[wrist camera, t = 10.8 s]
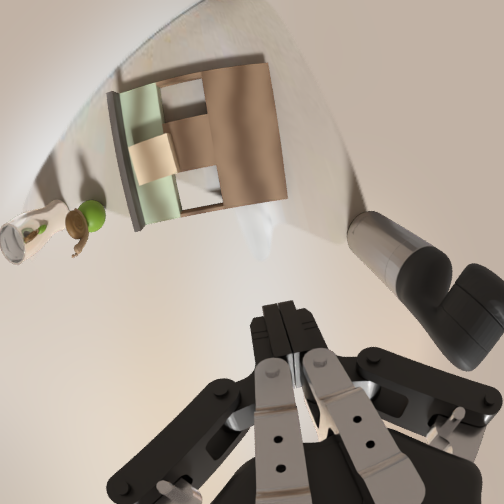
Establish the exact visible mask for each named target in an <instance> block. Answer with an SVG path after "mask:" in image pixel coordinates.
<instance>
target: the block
mask: <svg viewBox="0 0 504 504" xmlns="http://www.w3.org/2000/svg"><path fill="white" fill-rule="evenodd" d="M128 149H129V153H130V156H131V160H132V163H133V166H134V170H135V173H136V176H137V180H138V183H139V186H140V185H143V184H146V183H149V182H152V181H154V180H157V179H160V178H163V177H167V176H170V175H173V174H176V173H178V172H180V171H181V169H180V166H179V162H178V159H177V155H176V151H175V148H174V144H173V141H172V137H171V134H170V133H165V134H162V135H160V136H157V137H154V138H151V139H148V140H146V141H143V142H140V143H138V144H135V145H133V146H130V147H128Z"/></svg>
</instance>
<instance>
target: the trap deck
mask: <svg viewBox="0 0 504 504" xmlns="http://www.w3.org/2000/svg"><path fill="white" fill-rule="evenodd" d="M201 78H202V81H203V87H204V94H205V100H206V106H207V112H208V114H204V115H199V116H194V117H189V118H185V119H181V120H176V121H172V122H168V123H165V119H164V113H163V107H162V100H161V94H160V88H162V87H166V86H170V85H174V84H178V83H182V82H187V81H191V80H196V79H201ZM106 94H107V102H108V109H109V116H110V123H111V129H112V135H113V141H114V146H115V152H116V157H117V162H118V167H119V171H120V176H121V180H122V185H123V189H124V193H125V197H126V201H127V205H128V209H129V213H130V216H131V220H132V224H133V227H134V231H135V232H138V231H141V230H142V229H143V227H144V226H145V225H147V224H152V223H156V222H161V221H165V220H171V219H175V218H180V217H185V216H190V215H196V214H201V213H206V212H211V211H217V210H222V209H228V208H233V207H239V206H245V205H251V204H257V203H263V202H269V201H276V200H282V199H288V196H287V188H286V180H285V172H284V164H283V156H282V149H281V142H280V135H279V128H278V121H277V114H276V108H275V102H274V96H273V89H272V84H271V78H270V72H269V66H268V63H259V64H249V65H240V66H233V67H226V68H219V69H213V70H207V71H202V72H197V73H192V74H187V75H183V76H179V77H174V78H170V79H166V80H163V81H159V82H155V83H152V84H148V85H145V86H142V87H138V88H135V89H132V90H129V91H126V92H123V93H120V94H119V93H116V92H114V91H111V92H108V93H106ZM165 133H170V134H171V137H172V141H173V144H174V148H175V151H176V155H177V159H178V162H179V166H180V169H181V171H180V172H183V171H188V170H193V169H198V168H203V167H208V166H213V165H217V171H218V176H219V182H220V188H221V193H222V199H223V203H218V204H213V205H207V206H202V207H197V208H192V209H187V210H182V206H181V202H180V198H179V193H178V189H177V183H176V179H175V174H173V175H170V176H167V177H163V178H160V179H157V180H154V181H152V182H149V183H146V184H143V185H140V186H139V183H138V180H137V176H136V173H135V170H134V166H133V163H132V160H131V156H130V153H129V149H128V147H130V146H133V145H135V144H138V143H140V142H143V141H146V140H148V139H151V138H154V137H157V136H160V135H162V134H165ZM178 173H179V172H178Z"/></svg>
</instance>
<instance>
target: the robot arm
mask: <svg viewBox="0 0 504 504" xmlns="http://www.w3.org/2000/svg"><path fill="white" fill-rule="evenodd" d="M347 241H348V245H349V248H350V249H351V250H352V252H353V253H354V254H355V255H356V256H357V257H358V258H360V260H361V261H363V263H364V264H366V266H367V267H368V268H369V269H371V271H372V272H373V273H374V274H375V275H376V276H377V277H378V278H379V279H380V280H381V281H382V282H383V283H384V284H385V285H386V286H387V287H388V288H389V289H390V290H391V291H392V292H393V293H394V294H395V295H396V297H397V298H398V299H399V300H400V301H401V302H402V303H403V304H404V305H405V306H406V307H407V309H408V310H409V311H410V312H411V313H412V314H413V315H414V316H415V318H416V319H417V320H418V321H419V322H420V324H421V325H422V326H423V328H424V329H425V330H426V332H427V333H428V334H429V336H430V337H431V339H432V340H433V341H434V343H435V344H436V345H437V347H438V348H439V349H440V351H441V352H442V353H443V355H444V356H445V357H446V358H447V359H448V360H449V361H450V362H451V363H452V364H453V365H454V366H456V367H457V368H459V369H461V370H463V371H472V370H474V369H475V368H476V367H477V366H478V365H479V364H480V363H481V361H483V359H484V358H485V357H486V356H487V354H488V353H489V352H490V351H491V349H492V348H493V347H494V345H495V344H496V343H497V341H498V340H499V339H500V337H501V336H502V334H503V333H504V281H503V280H502V279H501V278H500V277H498V276H497V275H496V274H495V273H493V272H492V271H490V270H489V269H487V268H486V267H484V266H481V265H479V264H475V263H474V264H473V263H472V264H469V265H468V266H467V267H466V268H465V269H464V270H463V272H462V273H461V275H460V276H459V278H458V279H457V280H456V282H455V284H454V285H453V286H452V288H451V289H450V291H449V288H450V284H451V280H452V265H451V262H450V260H449V258H448V257H447V255H446V254H444V253H443V252H442V251H440V250H439V249H437V248H436V247H434V246H433V245H431V244H430V243H428V242H426V241H425V240H423V239H422V238H420V237H418V236H417V235H415V234H413V233H412V232H410V231H409V230H407V229H405V228H404V227H402V226H400V225H399V224H397V223H395V222H393V221H392V220H390V219H388V218H387V217H385V216H383V215H381V214H380V213H378V212H375V211H368V212H364V213H362V214H360V215H359V216H357V217H356V218H355V219H354V220H353V222H352V223H351V225H350V227H349V230H348V234H347ZM448 291H449V292H448ZM262 309H263V315H264V316H262V317H256V318H253V320H252V322H251V324H250V328H251V336H252V343H253V349H254V356H255V362H256V363H255V364H256V365H255V369H254V371H253V372H252V374H250V375H249V376H248V377H247V378H245V379H243V380H240V381H238V382H234V381H233V380H230V379H225V378H224V379H217V380H214V381H212V382H211V383H209V384H208V385H207V386H206V387H205V388H204V389H203V390H202V391H201V392H200V393H199V395H197V397H195V398H194V399H193V401H192V402H191V403H190V404H189V405H188V406H187V407H186V408H185V409H184V410H183V411H182V412H181V413H180V414H179V415H178V416H177V417H176V418H175V419H174V420H173V421H172V422H171V423H169V424H168V425H167V427H165V428H164V429H163V430H162V431H161V432H160V433H159V434H158V435H157V436H156V437H155V438H154V439H153V440H152V441H151V442H150V443H149V444H148V445H146V446H145V447H144V448H143V449H142V450H141V451H140V452H139V453H138V454H137V455H136V456H134V457H133V458H132V459H131V460H130V461H129V462H128V463H127V464H126V465H124V466H123V467H122V468H121V469H120V470H119V471H118V472H116V473H115V474H114V475H113V476H112V477H111V478H110V479H109V481H108V482H107V486H106V489H107V494H108V496H109V498H110V499H111V500H112V501H113V502H114V503H116V504H202V496H201V494H200V492H199V491H198V489H199V488H200V487H201V486H202V485H203V484H204V483H205V482H206V481H207V480H208V478H209V477H210V476H211V475H212V474H213V473H214V472H215V471H216V469H217V468H218V467H219V466H220V465H221V464H222V463H223V461H224V460H225V459H226V458H227V457H228V455H229V454H230V453H231V452H232V451H233V449H234V448H235V447H236V446H237V444H238V443H239V442H240V441H241V440H242V438H243V437H244V436H245V434H246V433H247V432H248V430H249V428H250V427H251V426H253V425H254V429H255V457H254V458H252V459H251V460H249V461H247V462H246V463H245V464H243V465H242V466H241V467H240V468H239V469H238V470H237V471H236V472H235V474H234V475H233V476H232V478H231V479H230V480H229V482H228V483H227V484H226V485H225V487H224V488H223V489H222V490H221V492H220V493H219V494H218V495H217V496H216V498H215V499H214V500H213V501H212V502H211V504H481V492H482V476H481V472H480V470H479V469H478V467H477V466H476V465H475V464H474V460H475V458H476V455H477V453H478V450H479V447H480V444H481V441H482V438H483V435H484V432H485V429H486V426H487V424H488V423H489V422H490V421H491V420H492V419H493V417H494V416H495V415H496V414H497V413H498V411H499V410H500V408H501V406H502V396H501V394H500V392H499V391H498V390H497V389H495V388H493V387H490V386H487V385H484V384H481V383H478V382H474V381H471V380H468V379H465V378H462V377H459V376H456V375H453V374H450V373H447V372H444V371H442V370H439V369H436V368H433V367H430V366H427V365H424V364H422V363H419V362H416V361H413V360H411V359H408V358H405V357H402V356H400V355H397V354H394V353H392V352H389V351H386V350H384V349H381V348H378V347H369V348H366V349H364V350H362V351H361V352H360V353H359V354H358V356H357V357H341V356H337V355H335V353H334V352H333V351H331V350H329V349H328V347H327V345H326V343H325V341H324V339H323V337H322V334H321V332H320V330H319V328H318V326H317V324H316V322H315V319H314V317H313V315H312V313H311V312H309V311H308V310H307V309H305V308H303V309H298V310H296V308H295V305H294V302H293V301H286V302H281V303H278V305H277V303H276V304H271V305H265V306H262ZM294 381H295V383H294ZM295 385H296V388H298V387H302V389H303V392H304V402H305V404H306V406H307V409H308V412H309V414H310V417H311V419H312V422H313V424H314V427H315V429H316V432H317V435H318V441H319V442H316V443H303V442H302V435H301V429H300V423H299V416H298V410H297V406H296V403H295V397H294V391H293V389H294V388H295ZM382 419H383V420H386V421H388V422H391V423H393V424H395V425H397V426H400V427H402V428H404V429H407V430H409V431H412V432H414V433H417V434H420V435H422V436H424V437H426V440H427V443H428V444H426V443H423V442H421V441H419V440H416V439H414V438H412V437H409V436H407V435H405V434H403V433H400V432H398V431H396V430H393V429H390V428H386V426H385V424H384V422H383V421H382Z"/></svg>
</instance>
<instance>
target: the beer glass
mask: <svg viewBox="0 0 504 504" xmlns="http://www.w3.org/2000/svg"><path fill="white" fill-rule="evenodd" d="M68 212H69V209H68V207H67V206H66V204H65V203H64V202H63V201H61V200H53V201H51V202H50V203H49V204H48V205H47V206H45V207H43V208H40V209H34V210H30V211H26V212H24V213H21V214H19V215H17V216H16V217H14V218H13V219H11V220H10V221H9V222H7V223H6V224H4V225H3V226H2V227H1V229H0V248H1V251H2V253H3V255H4V256H5V258H6V259H7V260H8V261H9V262H11V263H12V264H15V265H19V264H21V263H22V262H24V261H25V260H27V259H28V258H30V257H31V256H33V255H34V254H36V253H37V252H38V251H39V250H40V249H41V248H42V247H43V246H44V245H45V244H46V242H47V241H48V240H49V239H50V238H51V237H52V235H53V234H55V233H56V232H59V231H62V230H64V229H65V228H66V226H65V218H66V215H67V213H68Z"/></svg>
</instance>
